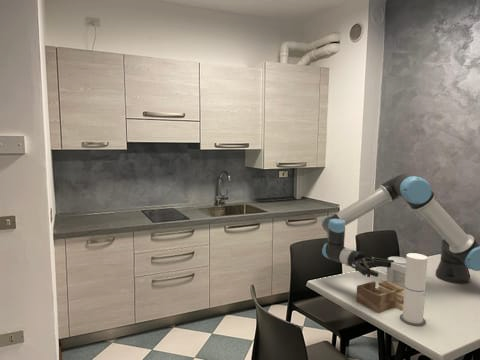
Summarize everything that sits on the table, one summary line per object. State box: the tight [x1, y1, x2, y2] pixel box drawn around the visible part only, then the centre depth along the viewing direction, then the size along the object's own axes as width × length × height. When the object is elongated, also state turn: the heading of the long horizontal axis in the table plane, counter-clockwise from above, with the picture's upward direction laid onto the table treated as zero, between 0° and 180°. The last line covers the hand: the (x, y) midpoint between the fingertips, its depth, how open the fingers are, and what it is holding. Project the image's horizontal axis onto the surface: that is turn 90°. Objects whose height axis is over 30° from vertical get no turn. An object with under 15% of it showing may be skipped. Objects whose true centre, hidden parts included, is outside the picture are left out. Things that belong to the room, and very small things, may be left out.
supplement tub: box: [386, 256, 406, 288], centre depth 164 cm, size 10×10×15 cm
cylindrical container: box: [402, 252, 429, 324], centre depth 136 cm, size 7×7×25 cm
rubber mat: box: [399, 313, 427, 327], centre depth 137 cm, size 9×9×1 cm
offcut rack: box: [355, 280, 404, 313], centre depth 150 cm, size 17×15×7 cm
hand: (396, 273), depth 142 cm, fingers open, 13 cm apart
